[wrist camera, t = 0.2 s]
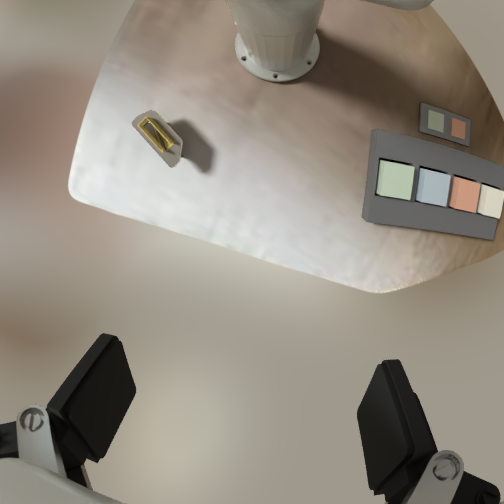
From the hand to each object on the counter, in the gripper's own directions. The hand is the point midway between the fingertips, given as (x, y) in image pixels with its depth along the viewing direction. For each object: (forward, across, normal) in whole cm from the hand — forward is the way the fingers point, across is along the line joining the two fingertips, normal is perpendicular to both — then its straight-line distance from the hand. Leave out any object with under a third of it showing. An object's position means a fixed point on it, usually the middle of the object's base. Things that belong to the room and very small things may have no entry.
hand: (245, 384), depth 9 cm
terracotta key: (+35, -32, -4) cm, 47 cm away
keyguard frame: (+36, -29, -5) cm, 47 cm away
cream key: (+35, -39, -4) cm, 52 cm away
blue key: (+35, -25, -5) cm, 43 cm away
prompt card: (+36, -29, -16) cm, 49 cm away
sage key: (+35, -18, -5) cm, 39 cm away
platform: (+37, +16, -9) cm, 42 cm away
